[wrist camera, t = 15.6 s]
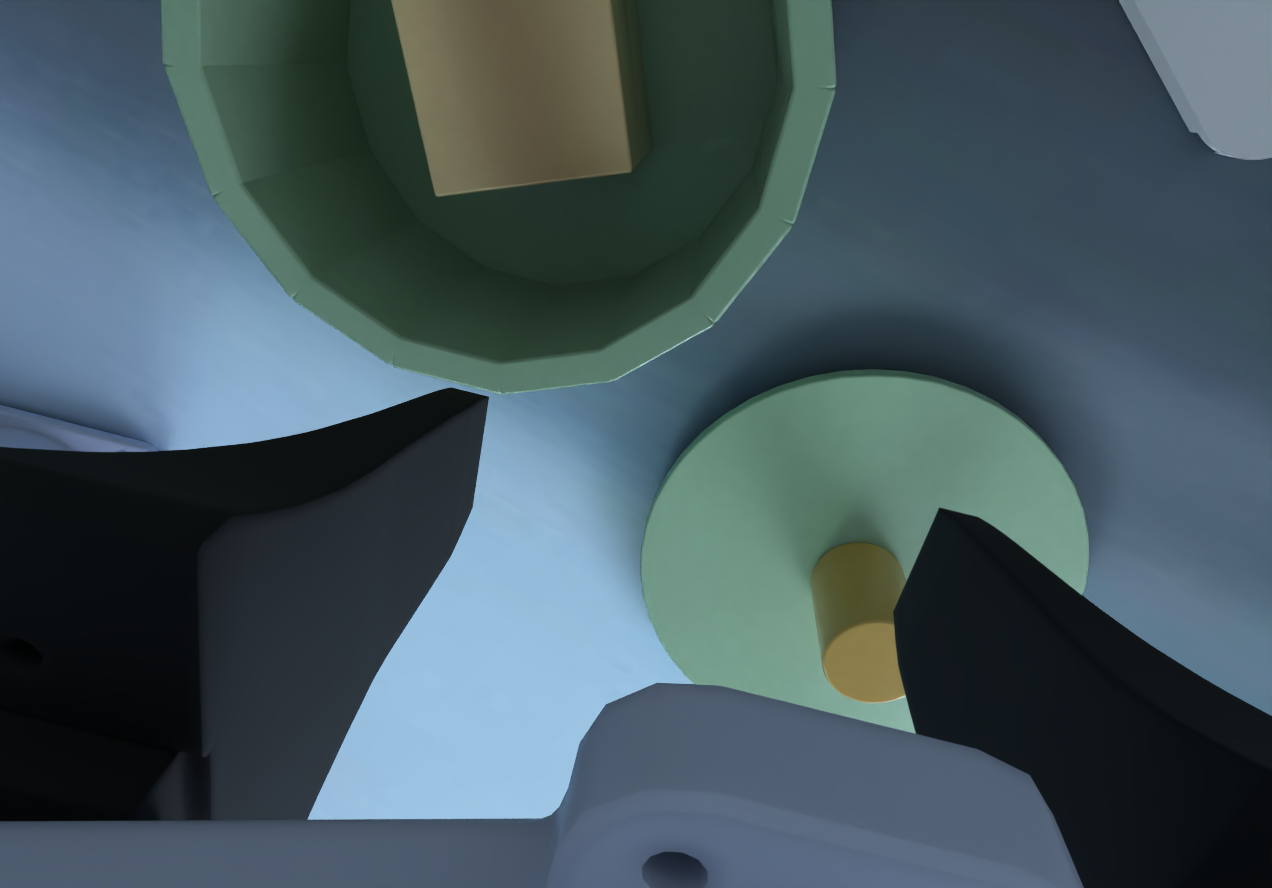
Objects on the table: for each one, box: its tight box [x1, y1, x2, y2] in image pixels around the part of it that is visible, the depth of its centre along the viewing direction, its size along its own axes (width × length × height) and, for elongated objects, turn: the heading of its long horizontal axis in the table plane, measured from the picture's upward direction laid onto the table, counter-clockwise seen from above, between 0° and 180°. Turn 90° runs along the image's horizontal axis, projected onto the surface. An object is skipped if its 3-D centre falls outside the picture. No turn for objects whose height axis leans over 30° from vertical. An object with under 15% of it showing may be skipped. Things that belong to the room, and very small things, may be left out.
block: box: [391, 0, 653, 197], centre depth 17 cm, size 4×4×4 cm
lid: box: [640, 369, 1089, 734], centre depth 22 cm, size 12×12×5 cm
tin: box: [161, 0, 837, 395], centre depth 17 cm, size 11×11×6 cm
